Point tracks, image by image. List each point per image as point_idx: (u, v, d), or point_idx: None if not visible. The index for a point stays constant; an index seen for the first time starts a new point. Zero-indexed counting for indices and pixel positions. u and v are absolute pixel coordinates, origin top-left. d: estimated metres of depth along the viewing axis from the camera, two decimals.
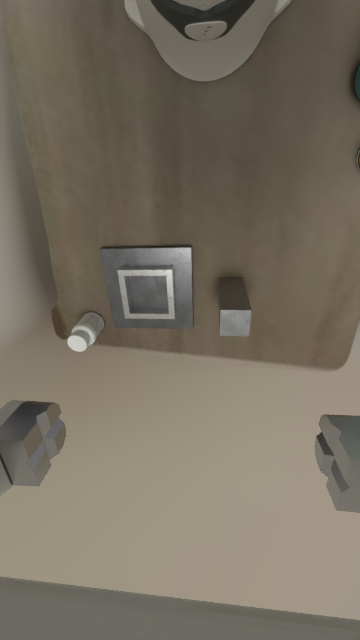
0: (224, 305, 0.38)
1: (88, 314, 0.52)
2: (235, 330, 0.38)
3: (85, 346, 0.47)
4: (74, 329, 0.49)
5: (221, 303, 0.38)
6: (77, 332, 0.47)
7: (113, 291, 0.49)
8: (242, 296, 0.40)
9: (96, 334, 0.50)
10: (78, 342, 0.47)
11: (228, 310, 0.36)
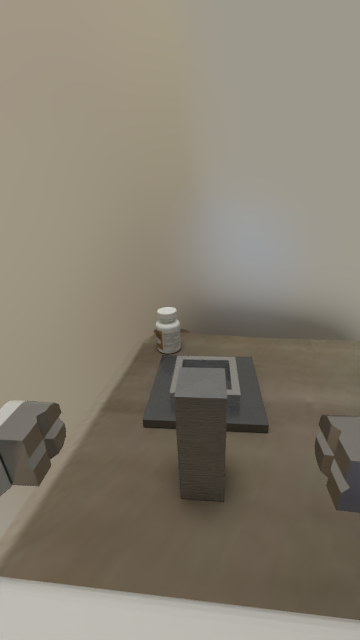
0: None
1: (180, 342, 0.51)
2: (187, 382, 0.23)
3: (162, 313, 0.48)
4: (176, 319, 0.50)
5: None
6: (176, 315, 0.49)
7: None
8: None
9: (165, 332, 0.48)
10: (168, 311, 0.48)
11: (224, 375, 0.23)
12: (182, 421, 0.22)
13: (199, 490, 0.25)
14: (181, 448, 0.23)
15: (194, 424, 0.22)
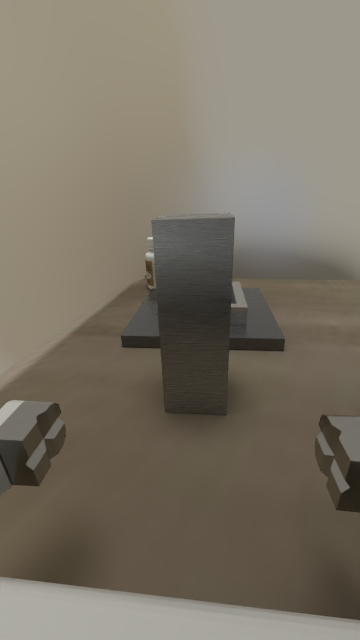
0: None
1: None
2: (173, 216, 0.15)
3: None
4: None
5: None
6: None
7: None
8: None
9: None
10: None
11: (228, 214, 0.16)
12: (164, 269, 0.14)
13: (191, 396, 0.18)
14: (165, 321, 0.16)
15: (184, 274, 0.14)
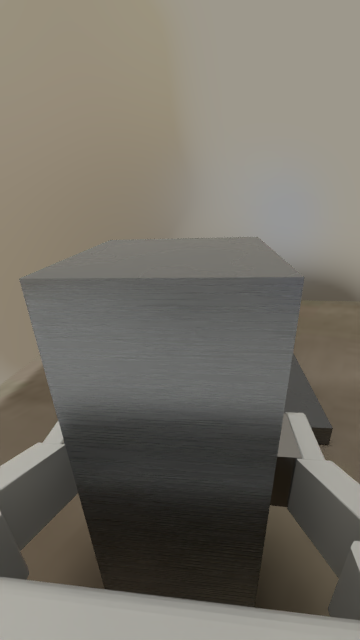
0: None
1: None
2: (116, 253, 0.06)
3: None
4: None
5: None
6: None
7: None
8: None
9: None
10: None
11: (260, 243, 0.06)
12: (82, 411, 0.05)
13: None
14: (99, 514, 0.06)
15: (138, 425, 0.05)
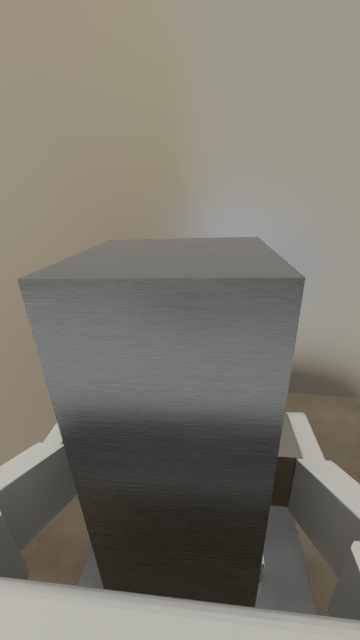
0: None
1: None
2: (116, 254, 0.06)
3: None
4: None
5: None
6: None
7: None
8: None
9: None
10: None
11: (260, 243, 0.06)
12: (82, 412, 0.05)
13: None
14: (99, 516, 0.06)
15: (137, 426, 0.05)
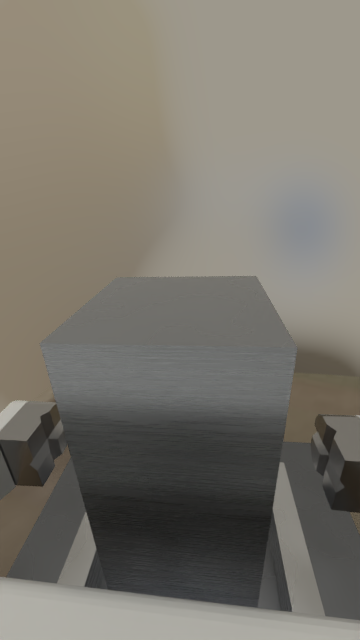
0: None
1: None
2: (124, 302, 0.06)
3: None
4: None
5: None
6: None
7: None
8: None
9: None
10: None
11: (258, 288, 0.07)
12: (95, 454, 0.05)
13: None
14: (109, 543, 0.07)
15: (146, 466, 0.05)
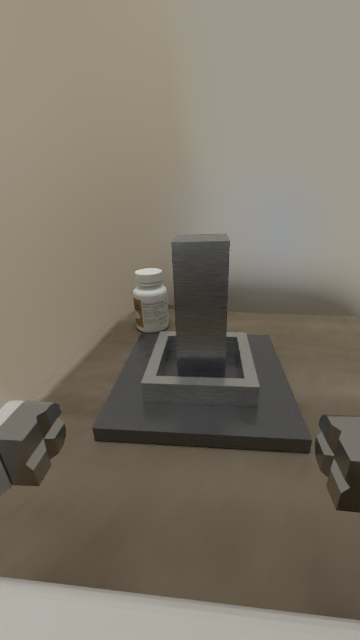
0: None
1: None
2: (186, 238, 0.21)
3: (141, 274, 0.34)
4: (162, 285, 0.36)
5: None
6: (162, 278, 0.35)
7: None
8: None
9: (145, 302, 0.34)
10: (149, 271, 0.34)
11: (225, 235, 0.21)
12: (180, 276, 0.20)
13: (198, 371, 0.23)
14: (179, 314, 0.21)
15: (193, 279, 0.20)
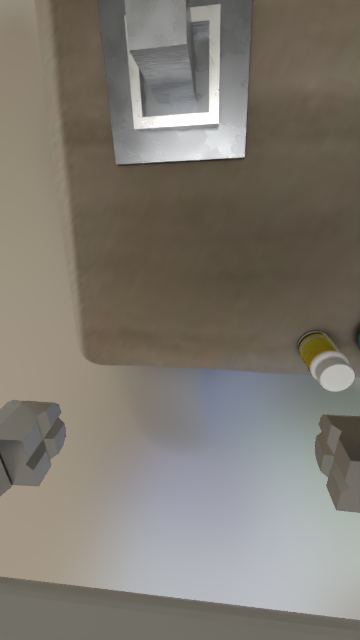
0: None
1: None
2: (138, 11, 0.18)
3: None
4: None
5: None
6: None
7: None
8: (190, 59, 0.22)
9: None
10: None
11: None
12: (144, 65, 0.21)
13: (173, 98, 0.29)
14: (150, 80, 0.24)
15: (157, 65, 0.21)
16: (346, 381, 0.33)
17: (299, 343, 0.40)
